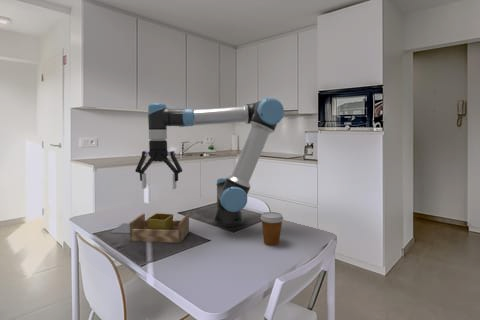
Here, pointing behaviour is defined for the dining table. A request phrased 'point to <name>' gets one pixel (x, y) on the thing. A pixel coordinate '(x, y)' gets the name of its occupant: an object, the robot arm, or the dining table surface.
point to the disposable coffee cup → (271, 227)
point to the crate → (158, 231)
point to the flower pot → (160, 221)
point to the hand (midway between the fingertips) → (159, 188)
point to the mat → (122, 229)
